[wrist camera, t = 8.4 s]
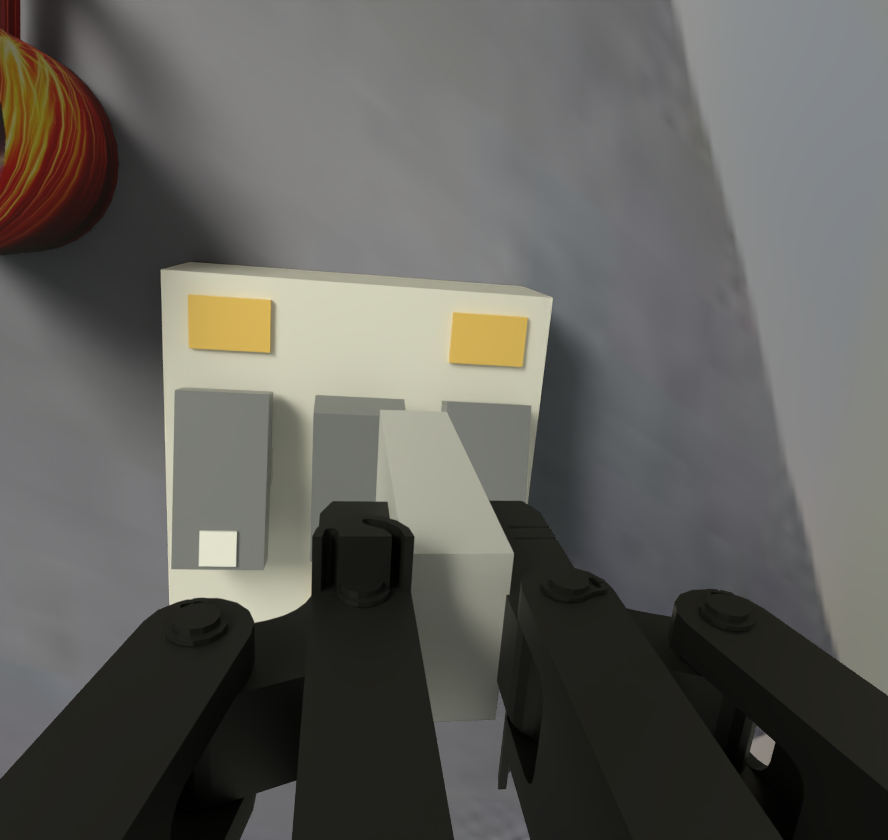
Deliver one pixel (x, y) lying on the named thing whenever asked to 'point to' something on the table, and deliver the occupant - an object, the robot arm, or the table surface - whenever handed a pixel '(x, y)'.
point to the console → (334, 377)
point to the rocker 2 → (345, 450)
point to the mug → (48, 147)
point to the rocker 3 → (495, 444)
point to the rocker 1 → (221, 479)
